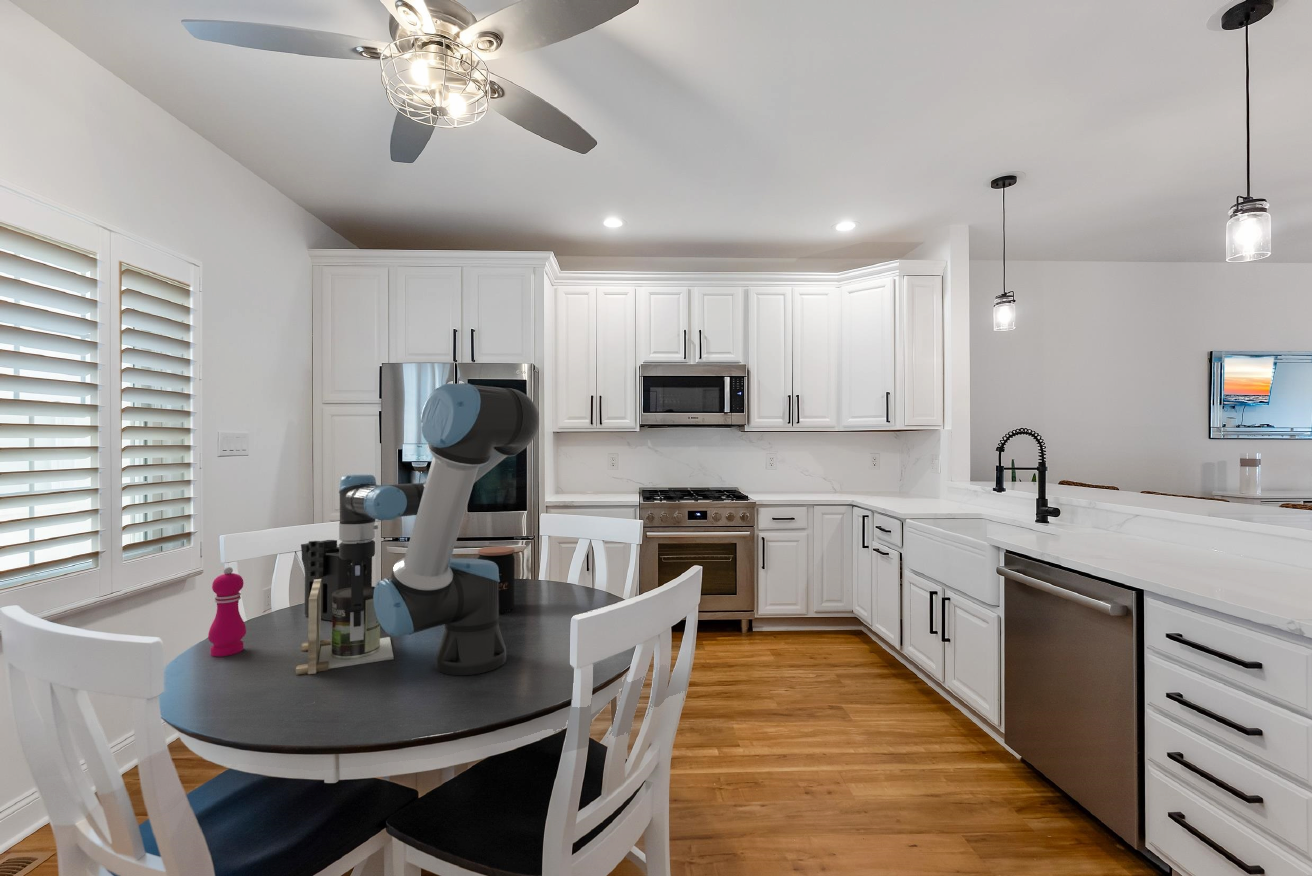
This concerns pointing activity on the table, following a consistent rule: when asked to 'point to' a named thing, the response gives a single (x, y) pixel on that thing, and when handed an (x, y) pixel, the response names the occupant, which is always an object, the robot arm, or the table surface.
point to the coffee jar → (502, 572)
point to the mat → (381, 655)
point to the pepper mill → (227, 615)
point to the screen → (314, 634)
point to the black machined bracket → (327, 572)
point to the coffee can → (341, 626)
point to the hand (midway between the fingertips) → (356, 631)
